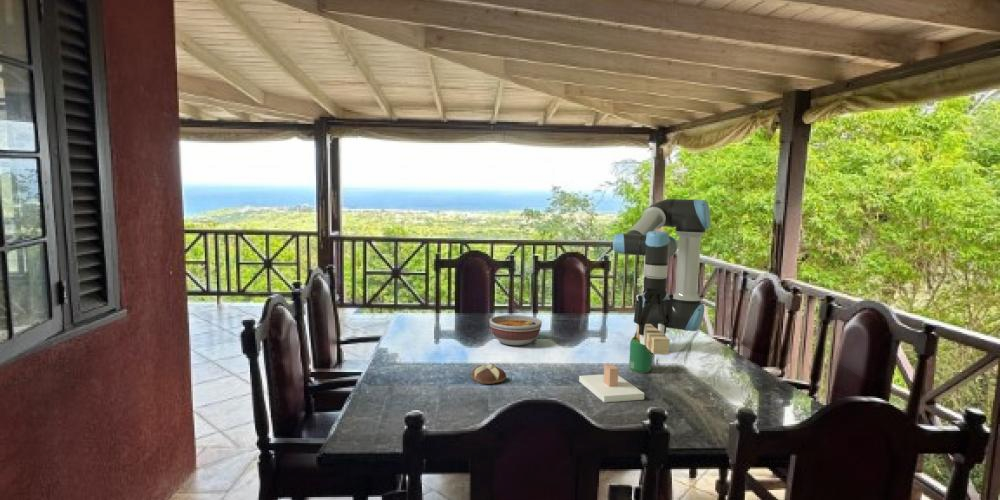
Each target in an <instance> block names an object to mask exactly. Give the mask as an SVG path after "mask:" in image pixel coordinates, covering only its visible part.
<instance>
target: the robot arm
mask: <svg viewBox="0 0 1000 500" xmlns="http://www.w3.org/2000/svg"><path fill="white" fill-rule="evenodd" d="M663 227H669V228H675V230H674V231H675V233H676V234H677V236H678V241H677V239H676V238H675V237H673V236H671V235H670V234H669V232H667V231H658V229H661V228H663ZM710 227H711V211H710V206H709V204H708V202H707V200H703V199H695V198H694V199H690V198H689V199H688V198H687V199H685V198H681V199H679V198H675V199H674V198H667V199H666V198H665V199H663V200H659V201H657V202H655V203H653V204H651V205H649V206H648V207H647V208H646V209H644V211H643V212H642V216H641V217H640V219H639V220H638V221H636V223H635V224H634V225H633V226H632V227H631V228H629V230H628V231H627V232H626V233H624V232H623V233H619V232H618V233H616V234H615V235H614V236H613V239H612V250H613V251H614V252H615V253H616V254H620V255H621V254H622V255H632V256H644V273H643V274H644V276H645V277H643V291H642V293H640V294H635V295H634V299H635V308H634V316H633V323H634V324H636V325H637V324H639V334H640V343H641V344H643V345H646V337H647V326H645V324H651V325H653V326H654V327H655V328H656V329H658V330H659V331H660V332H661V333H662V334H664V335H665V336H666V333H667V329H674V330H681V331H685V332H687V331H688V332H697V331H698V330H699V329H700V328H701V324H702V322H703V318H704V314H705V304H703V303H701V298H700V297H699V296H698V285H699V284H698V283H699V269H700V257H701V256H700V255H701V241H702V237H703V236H704V235H705V234H706V230H709V229H710ZM676 253H677V259H676V276H675V279H676V280H675V290H674V291H675V292H674V293H673V294H671V293H667V291H666V289H667V283H668V279H667V277H668V263H669V258H670V257H672V256H673V255H675V254H676ZM633 337H637V329H636V331H635V333H634V336H633Z"/></svg>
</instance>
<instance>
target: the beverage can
mask: <svg viewBox="0 0 1000 500" xmlns="http://www.w3.org/2000/svg"><path fill="white" fill-rule="evenodd" d="M629 345H630V346H629V359H628V360H629V362H628V363H629V364H628V367H629V370H630V371H631V370H632V371H631V372H633V371H634V373H637V372H638V373H637V374H647V373H649V372H651V370H652V359H653V357H652V355H653V354H652V352H651V351H650V350H649V349H648V348H647V347H646V346H645V345H643V344H641V343H640V340H639V339H638V338H637V337H634V336H633V337H632V338H631V340H630V344H629Z"/></svg>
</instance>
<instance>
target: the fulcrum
mask: <svg viewBox="0 0 1000 500" xmlns="http://www.w3.org/2000/svg"><path fill="white" fill-rule="evenodd" d="M603 367H604V369H603V374H588V375H586V374H585V375H579V379H578V382H579V383H580V384H582V385H583V386H584V387H585V388H586V389H587V390H589V391H590V392H591V393H592V394H594V396H596V397H597V398H598V399H599V400H600V401H602V402H603V403H614V402H629V401H640V400H641V401H642V400H645V393H644V392H643V391H642V390H640V389H639V388H637V387H636V386H635V385H633V384H631V383H630V382H629V381H627V380H626V379H624V378H623V377H622V376H620V375H619V368H618V367H617V366H615V365H614V364H604V366H603Z"/></svg>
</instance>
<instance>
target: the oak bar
mask: <svg viewBox="0 0 1000 500" xmlns="http://www.w3.org/2000/svg"><path fill="white" fill-rule="evenodd" d="M645 326H647V337H646V345H645V346H646V347H647V348H648V349H649V350H650V351H651V352H652V353H653V354H652V355H666V356H667V355H670V338H668V337H667V336H666V334H665V335H664V334H662V333H661V332H660V331H659V330H658V329H656V328H655V327H654V326H653V325H651V324H645ZM636 330H637V338H638V339H639V340H640V334H639V324H637V323H636Z"/></svg>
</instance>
